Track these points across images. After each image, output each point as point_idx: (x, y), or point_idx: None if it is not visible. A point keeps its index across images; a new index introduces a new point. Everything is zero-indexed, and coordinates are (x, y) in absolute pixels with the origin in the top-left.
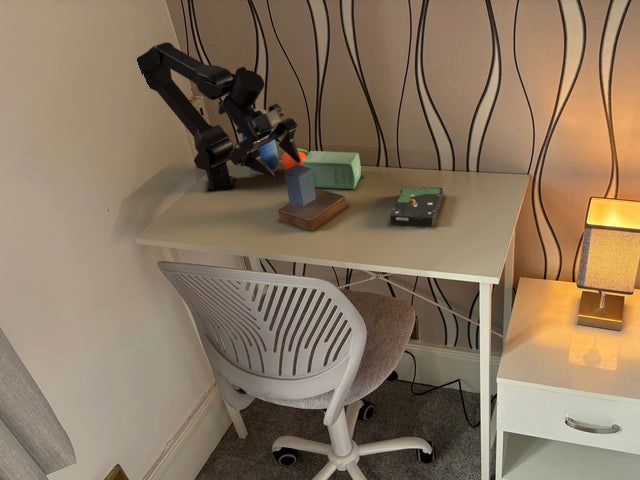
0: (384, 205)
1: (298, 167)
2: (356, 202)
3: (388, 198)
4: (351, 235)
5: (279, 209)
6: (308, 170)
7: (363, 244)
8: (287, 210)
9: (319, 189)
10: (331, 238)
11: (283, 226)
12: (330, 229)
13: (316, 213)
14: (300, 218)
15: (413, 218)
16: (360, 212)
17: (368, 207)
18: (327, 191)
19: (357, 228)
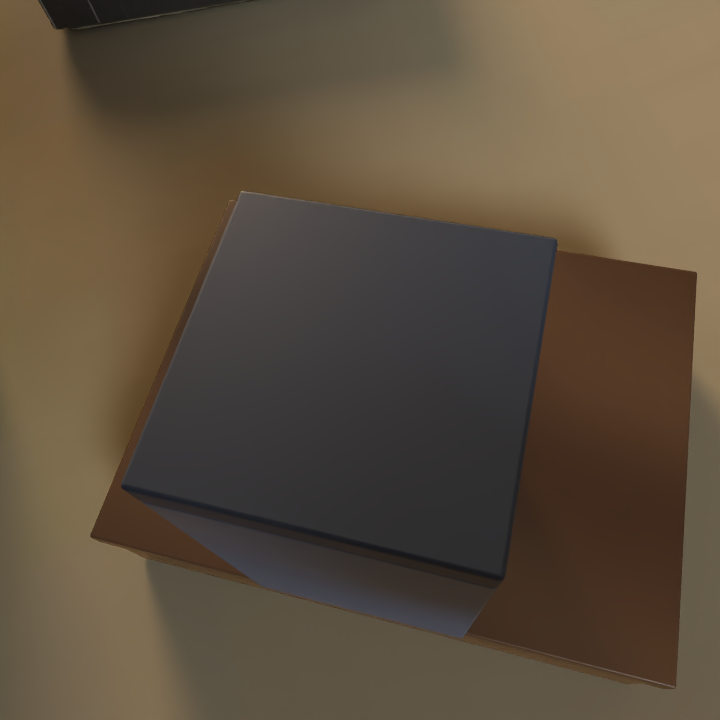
0: (190, 77)
1: (253, 384)
2: (173, 227)
3: (100, 89)
4: (586, 96)
5: (655, 670)
6: (309, 206)
7: (645, 14)
8: (638, 560)
9: (133, 452)
10: (675, 176)
11: (703, 596)
12: (575, 227)
13: (570, 274)
14: (688, 376)
15: None
16: (302, 156)
17: (229, 140)
18: (168, 361)
19: (496, 99)
